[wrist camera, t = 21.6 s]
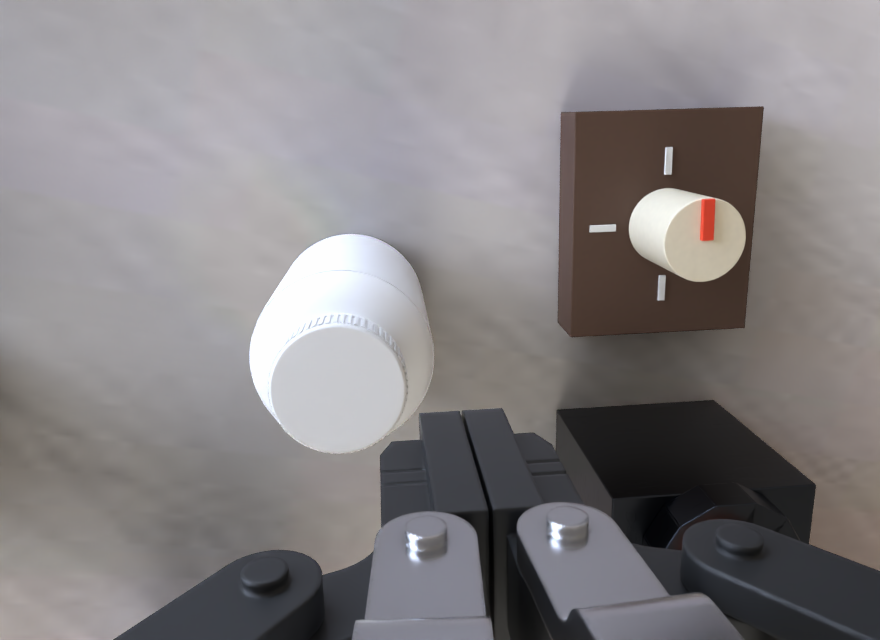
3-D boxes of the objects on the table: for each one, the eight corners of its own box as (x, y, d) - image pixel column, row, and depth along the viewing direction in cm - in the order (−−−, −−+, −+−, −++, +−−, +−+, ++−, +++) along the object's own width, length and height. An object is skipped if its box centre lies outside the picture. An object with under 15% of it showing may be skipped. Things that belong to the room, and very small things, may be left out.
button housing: (553, 566, 48) (617, 724, 35) (556, 402, 45) (626, 512, 32) (702, 554, 48) (816, 705, 36) (714, 393, 45) (843, 496, 33)
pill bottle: (322, 204, 40) (293, 251, 26) (447, 274, 42) (485, 356, 28) (256, 325, 42) (193, 433, 27) (379, 388, 43) (381, 522, 29)
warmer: (557, 322, 43) (571, 338, 40) (560, 112, 40) (576, 111, 37) (720, 314, 44) (746, 328, 41) (736, 107, 41) (765, 106, 38)
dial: (699, 259, 40) (747, 280, 35) (627, 265, 40) (665, 286, 34) (702, 185, 39) (752, 195, 34) (628, 190, 38) (667, 201, 33)
